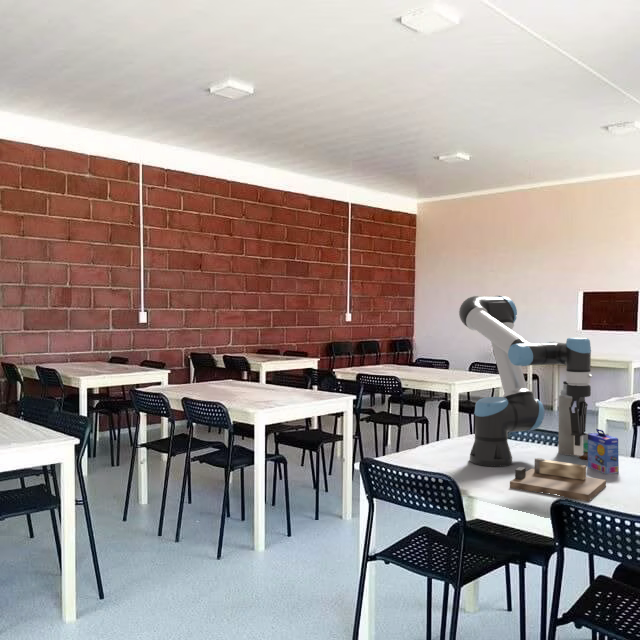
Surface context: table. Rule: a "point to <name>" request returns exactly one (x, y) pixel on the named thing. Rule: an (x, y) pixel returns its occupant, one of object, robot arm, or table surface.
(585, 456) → the food container
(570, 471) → the stool leg
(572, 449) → the thermos bottle
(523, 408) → the robot arm
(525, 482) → the board
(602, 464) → the ink cartridge box
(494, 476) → the table surface
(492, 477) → the table surface
